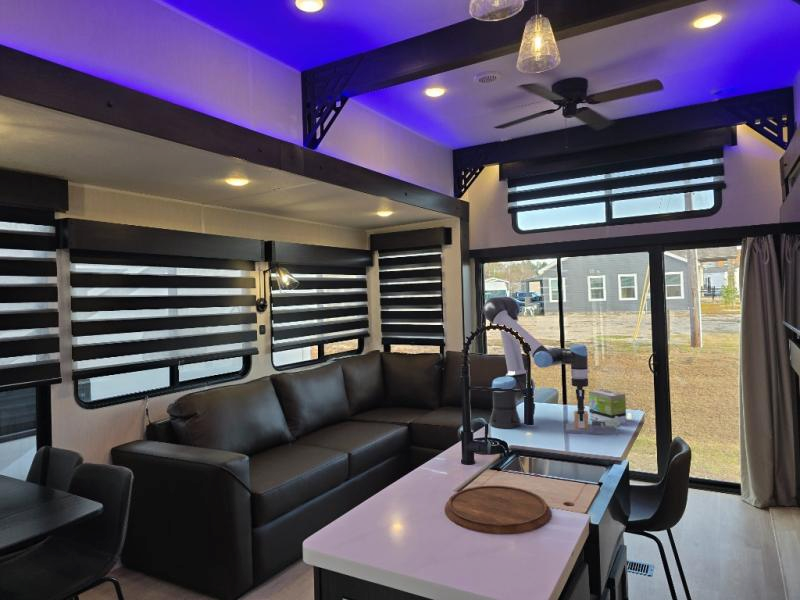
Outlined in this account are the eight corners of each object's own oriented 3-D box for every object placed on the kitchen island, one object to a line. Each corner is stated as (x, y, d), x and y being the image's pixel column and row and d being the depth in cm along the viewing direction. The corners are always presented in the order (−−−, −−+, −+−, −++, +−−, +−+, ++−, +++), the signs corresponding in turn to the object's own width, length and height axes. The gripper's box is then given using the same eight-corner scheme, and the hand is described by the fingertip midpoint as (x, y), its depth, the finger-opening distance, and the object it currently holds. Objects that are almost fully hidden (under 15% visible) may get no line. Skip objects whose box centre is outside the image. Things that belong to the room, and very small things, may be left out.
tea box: (588, 419, 266) (587, 390, 266) (603, 417, 270) (602, 388, 270) (612, 425, 253) (611, 395, 252) (627, 423, 257) (626, 393, 257)
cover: (605, 426, 239) (605, 420, 239) (604, 422, 247) (604, 415, 247) (619, 427, 237) (619, 420, 237) (617, 422, 245) (617, 416, 245)
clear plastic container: (565, 432, 243) (565, 421, 243) (565, 426, 254) (565, 415, 254) (616, 435, 236) (616, 423, 236) (614, 428, 248) (614, 416, 248)
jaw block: (574, 428, 244) (574, 413, 244) (574, 425, 250) (574, 410, 250) (588, 428, 243) (587, 413, 243) (587, 425, 248) (587, 411, 248)
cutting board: (478, 485, 182) (478, 477, 182) (568, 506, 162) (567, 497, 162) (423, 517, 157) (423, 508, 157) (521, 546, 137) (521, 537, 137)
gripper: (589, 381, 235) (590, 431, 235) (587, 374, 255) (588, 419, 256) (571, 381, 237) (573, 430, 237) (571, 373, 258) (572, 419, 258)
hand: (581, 424), depth 246 cm, fingers open, 9 cm apart
